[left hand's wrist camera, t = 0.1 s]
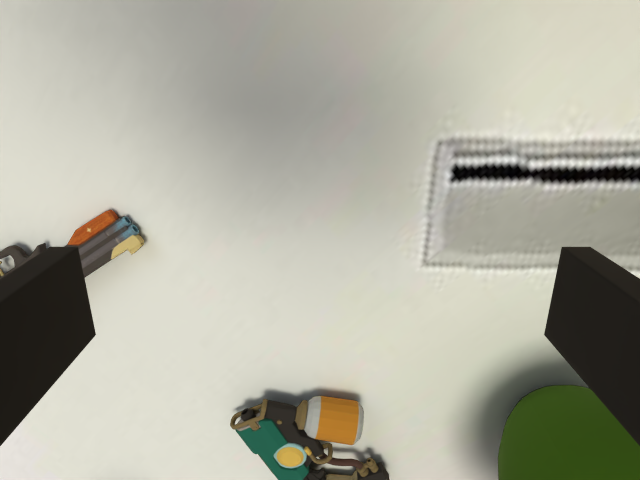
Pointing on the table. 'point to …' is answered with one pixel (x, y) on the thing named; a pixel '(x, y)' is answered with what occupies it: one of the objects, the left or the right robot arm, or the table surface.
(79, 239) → the toy gun
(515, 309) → the table surface
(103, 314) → the table surface
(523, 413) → the vase
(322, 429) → the spray gun
